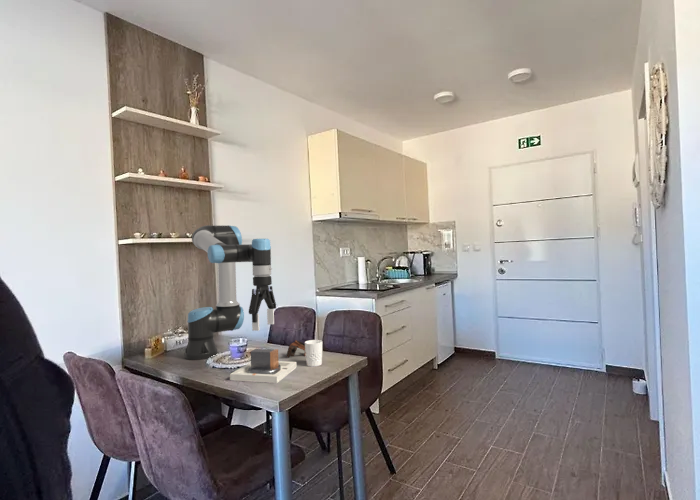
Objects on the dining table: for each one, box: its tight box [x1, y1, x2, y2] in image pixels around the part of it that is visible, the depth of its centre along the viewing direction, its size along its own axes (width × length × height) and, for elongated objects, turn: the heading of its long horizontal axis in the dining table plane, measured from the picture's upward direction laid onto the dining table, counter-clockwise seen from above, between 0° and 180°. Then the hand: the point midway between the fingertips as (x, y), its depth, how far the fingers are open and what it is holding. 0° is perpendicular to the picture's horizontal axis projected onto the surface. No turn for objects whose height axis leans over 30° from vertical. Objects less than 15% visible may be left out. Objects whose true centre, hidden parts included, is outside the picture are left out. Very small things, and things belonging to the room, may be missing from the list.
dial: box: [248, 348, 281, 375], centre depth 162 cm, size 13×13×9 cm
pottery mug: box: [286, 340, 306, 358], centre depth 189 cm, size 12×10×8 cm
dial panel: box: [229, 360, 297, 384], centre depth 162 cm, size 20×20×3 cm
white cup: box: [304, 339, 323, 367], centre depth 174 cm, size 8×8×10 cm
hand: (263, 327), depth 162 cm, fingers open, 13 cm apart
